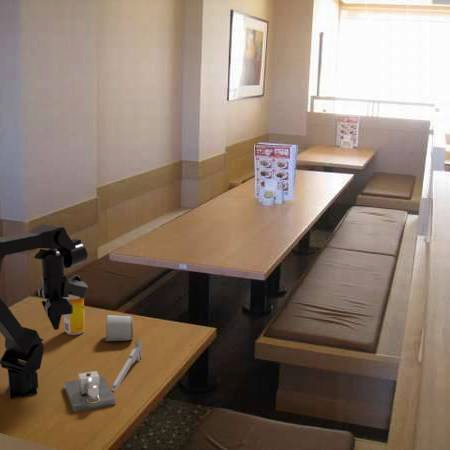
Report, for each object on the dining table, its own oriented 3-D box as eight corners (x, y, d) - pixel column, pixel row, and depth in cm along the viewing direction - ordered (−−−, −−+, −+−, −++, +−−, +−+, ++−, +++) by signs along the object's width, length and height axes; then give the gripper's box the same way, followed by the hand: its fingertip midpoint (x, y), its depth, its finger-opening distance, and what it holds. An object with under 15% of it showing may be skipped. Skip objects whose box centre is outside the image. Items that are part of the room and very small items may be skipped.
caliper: (138, 358, 181) (138, 337, 179) (142, 358, 180) (141, 337, 179) (110, 392, 161) (109, 369, 160) (114, 392, 161) (114, 369, 160)
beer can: (89, 330, 198) (87, 284, 195) (74, 337, 193) (72, 290, 190) (75, 326, 201) (73, 281, 198) (60, 332, 196) (58, 286, 193)
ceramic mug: (134, 344, 189) (133, 319, 188) (105, 345, 188) (105, 320, 186) (133, 330, 200) (132, 307, 198) (106, 331, 198) (105, 308, 197)
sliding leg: (81, 394, 156) (81, 378, 155) (79, 388, 158) (78, 373, 157) (99, 390, 157) (99, 375, 156) (97, 385, 160) (96, 370, 159)
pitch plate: (73, 412, 151) (72, 393, 150) (64, 387, 163) (63, 369, 161) (115, 404, 155) (115, 385, 154) (103, 380, 166) (102, 363, 165)
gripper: (92, 279, 160) (94, 338, 164) (78, 259, 177) (80, 313, 180) (46, 284, 156) (49, 344, 159) (36, 263, 172) (39, 318, 176)
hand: (56, 329), depth 169 cm, fingers closed
